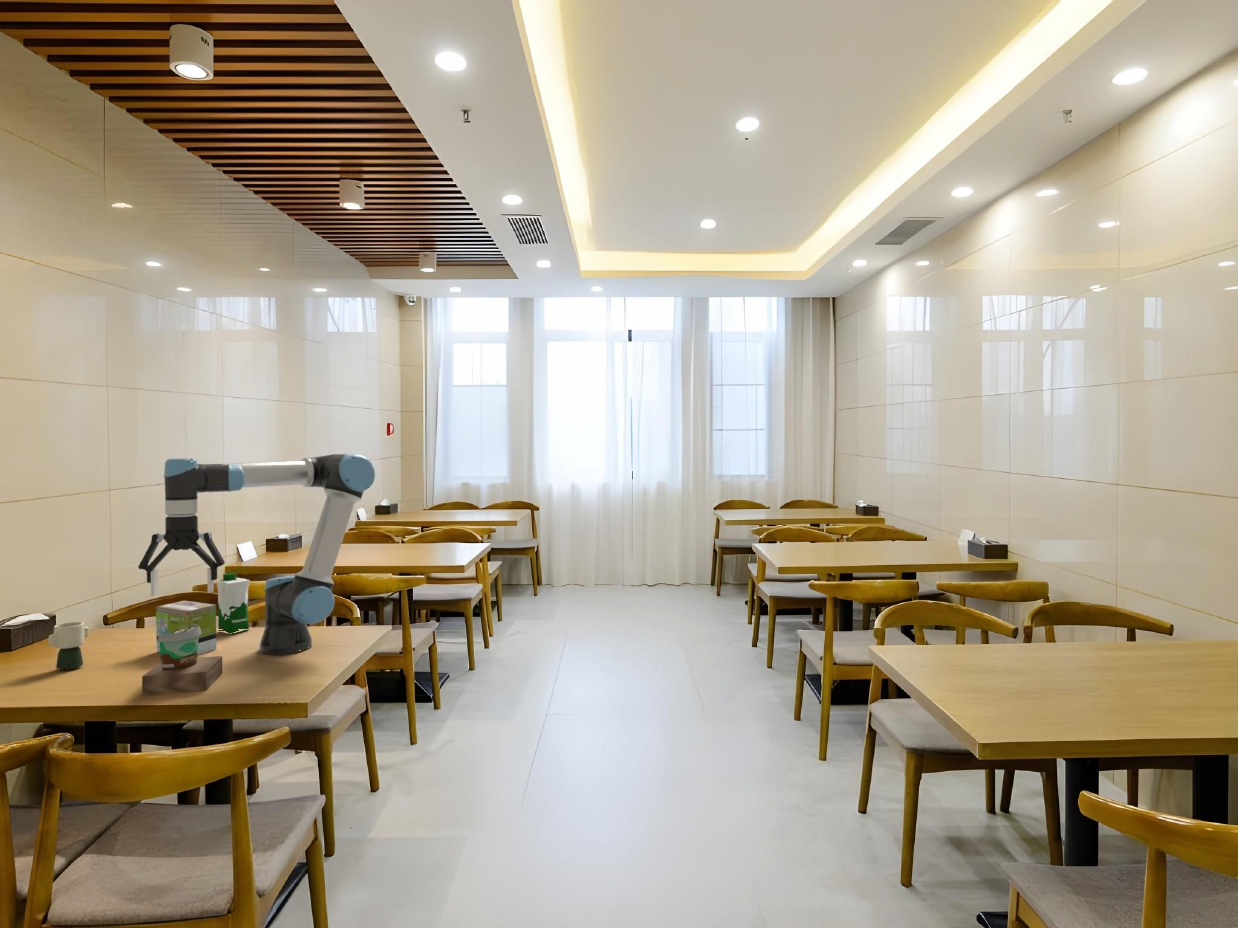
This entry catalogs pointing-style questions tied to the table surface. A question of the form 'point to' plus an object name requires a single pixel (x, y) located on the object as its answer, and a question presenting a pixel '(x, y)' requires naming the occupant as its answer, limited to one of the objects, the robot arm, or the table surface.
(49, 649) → the table surface
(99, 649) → the table surface
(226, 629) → the milk carton
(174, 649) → the food container
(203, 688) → the walnut plinth
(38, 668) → the table surface
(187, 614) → the tea box
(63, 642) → the character mug
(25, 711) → the table surface
